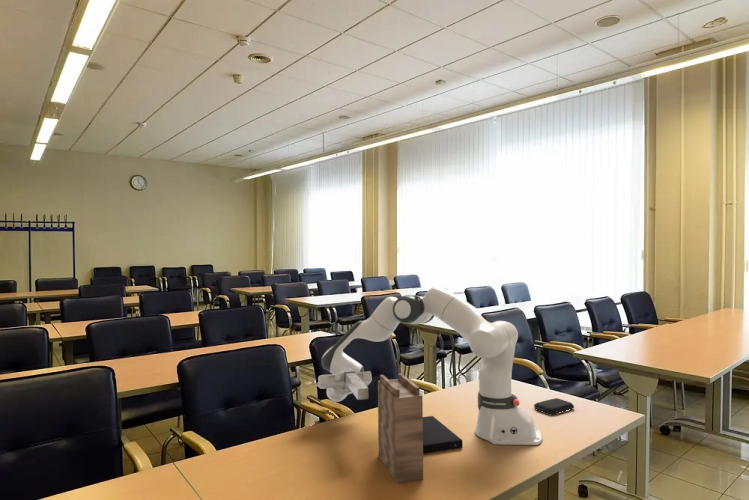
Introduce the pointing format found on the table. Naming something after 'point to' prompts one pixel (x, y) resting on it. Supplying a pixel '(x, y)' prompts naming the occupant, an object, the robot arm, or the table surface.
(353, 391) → the bar
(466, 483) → the table surface
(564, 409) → the black microchip
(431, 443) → the external hard drive
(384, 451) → the block
